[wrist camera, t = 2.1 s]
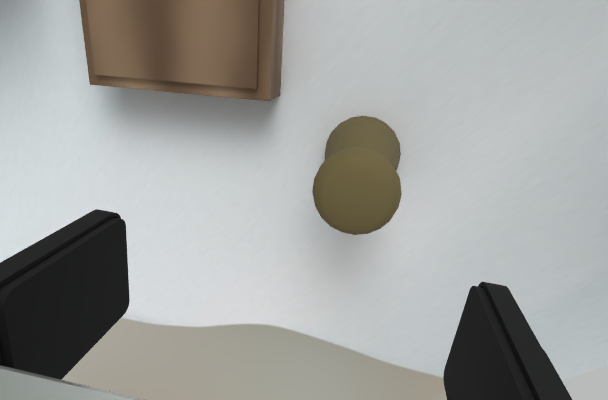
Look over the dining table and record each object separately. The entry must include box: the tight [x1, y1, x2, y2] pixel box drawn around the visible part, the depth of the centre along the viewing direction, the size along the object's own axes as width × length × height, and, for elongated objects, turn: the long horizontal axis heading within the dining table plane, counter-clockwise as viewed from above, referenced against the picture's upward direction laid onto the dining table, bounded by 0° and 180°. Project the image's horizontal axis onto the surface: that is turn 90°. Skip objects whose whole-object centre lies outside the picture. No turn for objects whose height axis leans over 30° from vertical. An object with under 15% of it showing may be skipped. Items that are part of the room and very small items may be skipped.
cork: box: [313, 116, 401, 235], centre depth 27 cm, size 6×6×11 cm
